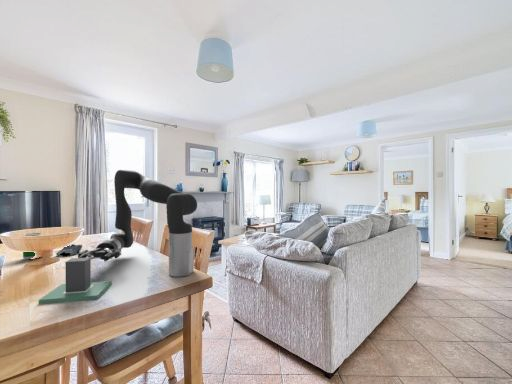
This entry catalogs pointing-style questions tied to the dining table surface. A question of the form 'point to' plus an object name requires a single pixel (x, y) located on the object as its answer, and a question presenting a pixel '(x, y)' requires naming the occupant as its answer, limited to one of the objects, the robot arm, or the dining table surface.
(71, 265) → the block
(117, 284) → the dining table surface
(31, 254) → the soda can
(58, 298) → the pin board
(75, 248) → the electronic device
